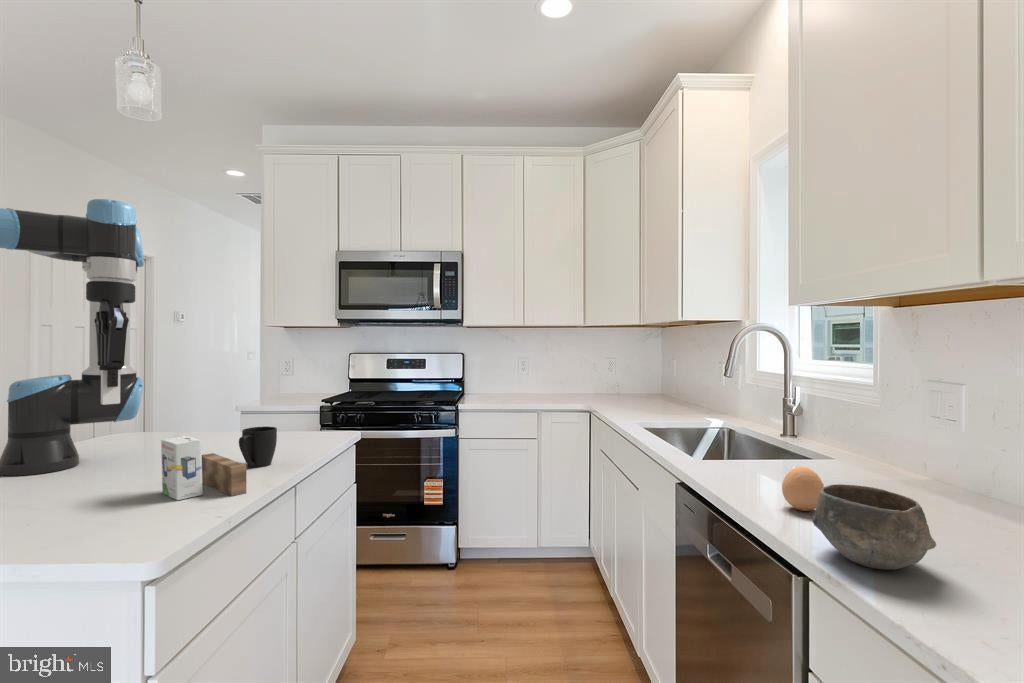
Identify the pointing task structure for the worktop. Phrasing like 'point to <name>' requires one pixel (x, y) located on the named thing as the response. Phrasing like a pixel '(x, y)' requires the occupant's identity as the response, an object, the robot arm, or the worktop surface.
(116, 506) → the worktop surface
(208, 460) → the wooden block
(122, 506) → the worktop surface
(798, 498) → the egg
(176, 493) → the ink box
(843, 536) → the bowl
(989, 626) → the worktop surface
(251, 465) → the mug
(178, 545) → the worktop surface
